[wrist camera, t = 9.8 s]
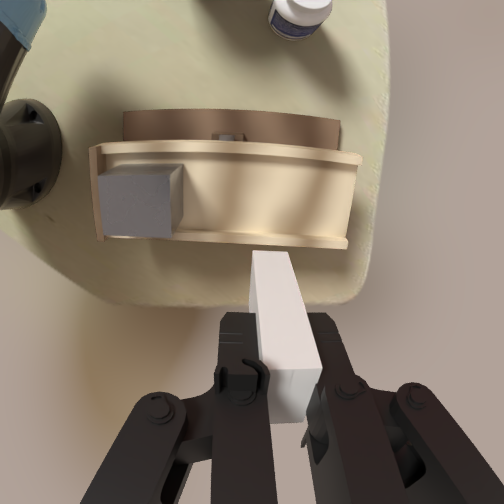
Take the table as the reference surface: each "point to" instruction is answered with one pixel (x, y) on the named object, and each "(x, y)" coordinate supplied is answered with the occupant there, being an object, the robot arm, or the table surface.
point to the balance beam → (246, 190)
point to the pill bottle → (298, 17)
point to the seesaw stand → (231, 126)
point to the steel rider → (141, 199)
